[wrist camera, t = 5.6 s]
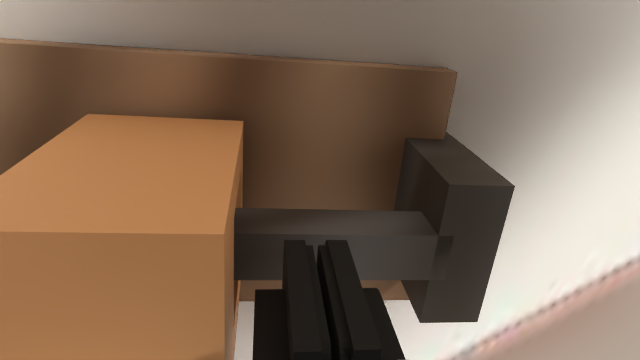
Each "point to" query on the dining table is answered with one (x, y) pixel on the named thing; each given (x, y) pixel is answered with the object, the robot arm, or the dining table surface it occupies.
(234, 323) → the sleeve
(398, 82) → the rod slider toy
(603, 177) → the dining table surface
